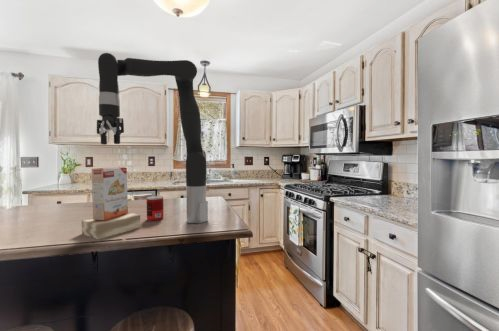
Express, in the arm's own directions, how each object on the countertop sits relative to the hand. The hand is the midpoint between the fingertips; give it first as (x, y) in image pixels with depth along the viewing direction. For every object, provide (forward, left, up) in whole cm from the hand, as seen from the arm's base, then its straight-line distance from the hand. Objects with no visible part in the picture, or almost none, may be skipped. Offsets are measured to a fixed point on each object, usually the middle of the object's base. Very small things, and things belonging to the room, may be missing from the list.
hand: (110, 144), depth 104 cm
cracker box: (0, 0, -31) cm, 31 cm away
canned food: (-1, -22, -37) cm, 43 cm away
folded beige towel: (0, 0, -37) cm, 37 cm away
